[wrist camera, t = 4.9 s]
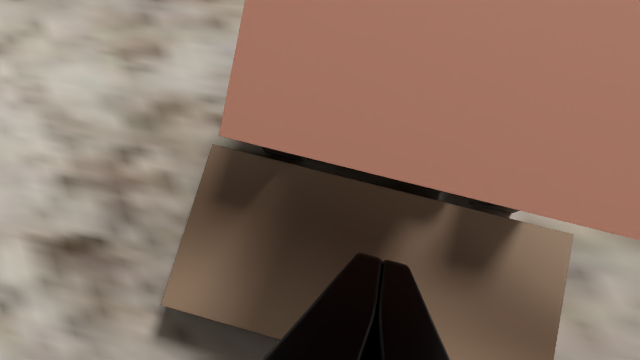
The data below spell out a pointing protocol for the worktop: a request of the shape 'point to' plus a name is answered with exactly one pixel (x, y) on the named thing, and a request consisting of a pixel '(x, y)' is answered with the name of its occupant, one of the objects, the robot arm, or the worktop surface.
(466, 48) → the adjuster lever
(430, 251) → the stand
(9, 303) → the worktop surface
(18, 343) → the worktop surface
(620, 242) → the worktop surface
